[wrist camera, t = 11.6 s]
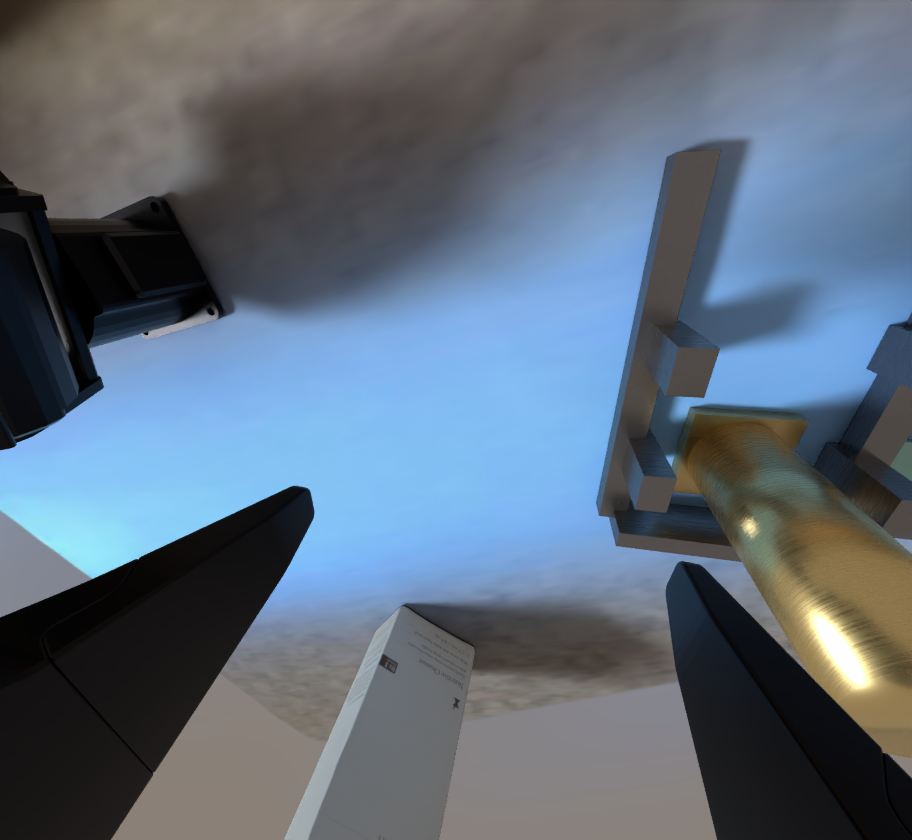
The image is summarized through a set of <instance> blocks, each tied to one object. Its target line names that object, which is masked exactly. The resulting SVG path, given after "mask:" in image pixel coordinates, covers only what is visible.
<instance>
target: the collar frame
mask: <svg viewBox="0 0 912 840" xmlns="http://www.w3.org/2000/svg"><path fill="white" fill-rule="evenodd" d="M720 152H721V150H709V151H690V152H676V153H674V154H672V155H670V156H668V157H667V160H666V165H665V170H664V175H663V179H662V184H661V189H660V194H659V199H658V204H657V209H656V214H655V218H654V223H653V228H652V233H651V238H650V243H649V248H648V253H647V258H646V262H645V267H644V272H643V277H642V282H641V287H640V292H639V297H638V301H637V306H636V311H635V316H634V321H633V326H632V331H631V336H630V340H629V345H628V350H627V355H626V360H625V365H624V370H623V375H622V380H621V384H620V389H619V394H618V399H617V404H616V409H615V414H614V419H613V423H612V428H611V433H610V438H609V443H608V448H607V453H606V458H605V463H604V467H603V472H602V477H601V482H600V487H599V492H598V497H597V502H596V504H597V509H598V513H599V516H606V517H609V519H610V523H611V527H612V531H613V536H614V540H615V544H616V546H621V547H628V548H636V549H644V550H652V551H660V552H668V553H676V554H684V555H691V556H699V557H707V558H715V559H723V560H731V561H739V562H742V561H741V560H740V558H739V556H738V555H737V553H736V551H735V550H734V548H733V546H732V545H731V543H730V541H729V540H728V538H727V536H726V535H725V533H724V531H723V530H722V528H721V526H720V525H719V523H718V521H717V520H716V518H715V516H714V515H713V513H712V511H711V510H710V508H702V507H693V506H683V505H674V504H669V503H670V500H671V497H672V494H673V491H674V488H675V485H676V482H677V477H676V475H675V473H674V472H673V470H672V468H671V466H670V464H669V462H668V461H667V459H666V457H665V455H664V453H663V451H662V449H661V448H660V446H659V444H658V442H657V440H656V438H655V437H654V435H653V433H652V431H651V430H648V429H649V425H650V422H651V418H652V414H653V410H654V406H655V402H656V398H657V395H658V391H659V387H660V388H661V390H662V391H663V393H664V394H665V395H666V396H682V397H700V398H704V396H705V393H706V390H707V387H708V384H709V381H710V378H711V374H712V371H713V368H714V365H715V362H716V359H717V356H718V353H719V350H720V348H718V347H717V346H715V345H714V344H712V343H711V342H710V341H708V340H707V339H705V338H704V337H702V336H701V335H700V334H698V333H697V332H695V331H694V330H692V329H691V328H689V327H688V326H687V325H685V324H684V323H682V322H681V321H677V318H678V314H679V310H680V306H681V302H682V298H683V295H684V291H685V287H686V283H687V279H688V275H689V271H690V268H691V264H692V260H693V256H694V252H695V248H696V244H697V241H698V237H699V233H700V229H701V225H702V221H703V218H704V214H705V210H706V206H707V202H708V198H709V194H710V191H711V187H712V183H713V179H714V175H715V171H716V167H717V164H718V160H719V156H720ZM867 369H868V370H870V371H873V372H875V373H877V374H878V375H877V377H876V378H875V380H874V382H873V384H872V386H871V388H870V389H869V391H868V393H867V395H866V397H865V398H864V400H863V402H862V404H861V406H860V407H859V409H858V411H857V413H856V415H855V416H854V418H853V420H852V422H851V424H850V426H849V427H848V429H847V431H846V433H845V435H844V436H843V438H842V440H841V442H840V443H827V444H826V445H825V447H824V449H823V451H822V453H821V455H820V457H819V459H818V460H817V462H816V464H815V466H814V468H816V469H817V470H818V471H819V472H820V473H821V474H822V475H823V476H825V477H826V478H827V479H828V480H829V481H830V482H831V483H832V484H834V485H835V486H836V487H837V488H838V489H839V490H840V491H841V492H843V493H844V494H845V495H846V496H847V497H848V498H849V499H850V500H852V501H853V502H854V503H855V504H856V505H857V506H858V507H859V508H861V509H862V510H863V511H864V512H865V513H866V514H867V515H868V516H870V517H871V518H872V519H873V520H874V521H875V522H876V523H877V524H879V525H880V526H881V527H882V528H883V529H884V530H885V531H886V532H888V533H889V534H890V535H891V536H892V537H893V538H900V539H910V540H912V440H909V439H908V438H909V436H910V435H911V433H912V313H911V315H910V317H909V319H908V321H907V322H906V324H905V326H899V325H889V327H888V329H887V331H886V333H885V335H884V337H883V339H882V340H881V342H880V344H879V346H878V348H877V350H876V352H875V354H874V355H873V357H872V359H871V361H870V363H869V365H868V367H867ZM630 499H631V500H630Z"/></svg>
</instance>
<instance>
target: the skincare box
mask: <svg viewBox="0 0 912 840" xmlns="http://www.w3.org/2000/svg"><path fill="white" fill-rule="evenodd" d="M474 656H475V651H474V647H472V646H471V645H469V644H468V643H466V642H463V641H461V640H460V639H458V638H456V637H454V636H453V635H451V634H449V633H447V632H446V631H444V630H442V629H440V628H439V627H437V626H435V625H433V624H431V623H430V622H428V621H426V620H425V619H423V618H422V617H420V616H419V615H417V614H416V613H414V612H413V611H411V610H410V609H408V608H407V607H405V606H401V607H400V608H399V609H398V610H397V611H396V612H395V613H394V614H393V615H392V616H390V617H389V618H388V619H387V620H386V621H385V622H384V623H383V624H382V625H381V626H380V627H379V628H378V629H377V631H376V632H375V635H374V637H373V639H372V642H371V644H370V646H369V648H368V651H367V653H366V655H365V657H364V660H363V662H362V664H361V667H360V669H359V671H358V673H357V676H356V678H355V680H354V682H353V685H352V687H351V689H350V692H349V694H348V696H347V698H346V701H345V703H344V705H343V707H342V710H341V712H340V714H339V716H338V719H337V721H336V723H335V726H334V728H333V730H332V732H331V735H330V737H329V739H328V741H327V744H326V746H325V748H324V751H323V753H322V755H321V758H320V760H319V762H318V764H317V767H316V769H315V771H314V774H313V776H312V778H311V780H310V783H309V785H308V787H307V790H306V792H305V794H304V796H303V798H302V801H301V803H300V805H299V808H298V810H297V812H296V814H295V816H294V819H293V821H292V823H291V826H290V828H289V830H288V832H287V834H286V837H285V839H284V840H439V837H440V832H441V827H442V822H443V817H444V812H445V807H446V801H447V797H448V791H449V785H450V780H451V776H452V771H453V765H454V760H455V755H456V749H457V744H458V739H459V734H460V729H461V723H462V718H463V713H464V708H465V703H466V698H467V693H468V687H469V682H470V677H471V672H472V666H473V661H474Z"/></svg>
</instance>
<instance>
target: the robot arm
mask: <svg viewBox="0 0 912 840" xmlns="http://www.w3.org/2000/svg"><path fill="white" fill-rule="evenodd" d="M157 205H158V206H159V210H158V207H157ZM45 210H47V207H46V203H45V200H44V197H43V195H42V194H38V193H34V192H30V191H26V190H22V189H18V188H17V187H16V186H14V184H13V182H12V181H9V180H8V178H7V177H6V176H5V175H4V174H3V173H2V172H1V171H0V450H4V449H9V448H13V447H15V446H16V445H17V444H16V443H17V442H20V441H23V440H25V439H28V438H30V437H32V436H34V435H36V434H38V433H39V432H41V431H43V430H44V429H46V428H47V427H49V426H50V425H52V424H54V423H56V422H58V421H60V420H61V419H62V418H63V417H64V416H65V415H66V414H67V413H68V412H70V411H71V410H73V409H74V408H76V407H77V406H78V405H80V404H81V403H83V402H84V401H86V400H87V399H88V398H90V397H91V396H93V395H94V394H96V393H97V392H98V391H100V390H101V389H103V388H104V386H103V382H102V379H101V377H100V376H98V374H97V371H96V368H95V365H94V362H93V359H92V356H91V353H90V349H89V348H92V347H96V346H99V345H103V344H106V343H110V342H113V341H117V340H121V339H124V338H128V337H131V336H135V335H138V334H141V336H142V337H144V338H146V339H152V338H155V337H158V336H162V335H165V334H169V333H172V332H176V331H179V330H182V329H186V328H189V327H193V326H196V325H200V324H203V323H206V322H210V321H213V320H217V319H220V318H222V317H223V309H222V307H221V305H220V303H219V301H218V299H217V297H216V295H215V293H214V291H213V289H212V287H211V286H210V284H209V282H208V280H207V278H206V276H205V274H204V272H203V270H202V268H201V266H200V264H199V263H198V261H197V259H196V257H195V255H194V253H193V251H192V249H191V247H190V245H189V243H188V241H187V239H186V238H185V236H184V234H183V232H182V230H181V228H180V226H179V224H178V222H177V220H176V218H175V216H174V215H173V213H172V211H171V209H170V207H169V205H168V203H167V202H166V201H165V200H164V199H163V198H161V197H156V196H150V197H147V198H145V199H143V200H141V201H138V202H136V203H134V204H132V205H129V206H127V207H125V208H123V209H121V210H118V211H116V212H114V213H112V214H109V215H107V216H105V217H103V218H101V219H59V218H47V216H46V213H45ZM212 309H213V310H214V312H215V313H214V312H213V311H212ZM313 518H314V507H313V502H312V497H311V492H310V490H309V489H308V488H305V487H300V486H291V487H289V488H287V489H285V490H283V491H281V492H278V493H276V494H274V495H272V496H270V497H268V498H266V499H263V500H261V501H259V502H257V503H255V504H253V505H251V506H248V507H246V508H244V509H242V510H240V511H238V512H236V513H234V514H231V515H229V516H227V517H225V518H223V519H221V520H219V521H216V522H214V523H212V524H210V525H208V526H206V527H204V528H201V529H199V530H197V531H195V532H193V533H191V534H189V535H186V536H184V537H182V538H180V539H178V540H176V541H174V542H171V543H169V544H167V545H165V546H163V547H161V548H159V549H156V550H154V551H152V552H150V553H148V554H146V555H144V556H142V557H140V558H139V559H135V560H133V561H131V562H129V563H126V564H124V565H122V566H120V567H118V568H116V569H114V570H111V571H109V572H107V573H105V574H102V575H100V576H98V577H96V578H94V579H91V580H90V581H87V582H85V583H82V584H80V585H78V586H75V587H73V588H71V589H68V590H66V591H63V592H61V593H59V594H56V595H54V596H52V597H49V598H47V599H44V600H42V601H39V602H37V603H35V604H32V605H30V606H27V607H25V608H22V609H20V610H17V611H15V612H13V613H10V614H8V615H5V616H3V617H1V618H0V840H111V839H112V837H113V836H114V834H115V832H116V831H117V830H118V828H119V826H120V825H121V823H122V822H123V820H124V819H125V817H126V816H127V814H128V813H129V811H130V810H131V808H132V807H133V805H134V803H135V802H136V800H137V799H138V797H139V796H140V794H141V793H142V791H143V790H144V788H145V787H146V785H147V784H148V782H149V781H150V779H151V778H152V776H153V772H155V771H156V769H157V768H158V766H159V765H160V763H161V762H162V760H163V759H164V757H165V756H166V754H167V752H168V751H169V749H170V748H171V746H172V745H173V743H174V742H175V740H176V739H177V737H178V736H179V734H180V733H181V731H182V730H183V728H184V727H185V725H186V724H187V722H188V720H189V719H190V717H191V716H192V714H193V713H194V711H195V710H196V708H197V707H198V705H199V704H200V702H201V701H202V699H203V697H204V696H205V694H206V693H207V691H208V690H209V688H210V687H211V685H212V684H213V682H214V681H215V679H216V678H217V676H218V675H219V673H220V672H221V670H222V668H223V667H224V665H225V664H226V662H227V661H228V659H229V658H230V656H231V655H232V653H233V652H234V650H235V649H236V647H237V646H238V644H239V642H240V641H241V639H242V638H243V636H244V635H245V633H246V632H247V630H248V629H249V627H250V626H251V624H252V623H253V621H254V620H255V618H256V616H257V615H258V613H259V612H260V610H261V609H262V607H263V606H264V604H265V603H266V601H267V600H268V598H269V597H270V595H271V594H272V592H273V590H274V589H275V587H276V586H277V584H278V583H279V581H280V580H281V578H282V577H283V575H284V573H285V572H286V570H287V568H288V566H289V565H290V563H291V561H292V559H293V557H294V555H295V553H296V551H297V549H298V547H299V545H300V544H301V542H302V540H303V538H304V536H305V534H306V532H307V530H308V528H309V526H310V524H311V522H312V520H313ZM666 601H667V608H668V616H669V623H670V631H671V638H672V646H673V654H674V660H675V667H676V671H677V676H678V681H679V685H680V689H681V692H682V697H683V701H684V705H685V709H686V713H687V717H688V722H689V726H690V730H691V734H692V738H693V742H694V746H695V750H696V754H697V758H698V763H699V767H700V770H701V775H702V779H703V783H704V787H705V791H706V796H707V800H708V804H709V808H710V812H711V816H712V820H713V824H714V828H715V833H716V837H717V840H912V778H911V777H910V776H909V775H908V774H907V773H906V772H905V771H904V770H903V769H902V768H901V767H900V766H899V765H898V764H897V763H896V762H895V761H894V760H893V759H892V758H891V757H890V756H889V755H888V754H886V753H883V751H882V748H881V747H880V746H879V745H878V744H877V743H876V742H875V741H874V740H873V739H872V738H871V737H870V736H869V735H868V734H867V733H866V732H865V731H864V730H863V729H862V727H861V726H860V725H859V724H858V723H857V722H856V721H855V720H854V719H853V718H852V717H851V716H850V715H849V714H848V713H847V712H846V711H845V710H844V709H843V708H842V707H841V706H840V705H839V704H838V703H837V702H836V701H835V700H834V699H833V698H832V697H831V696H830V695H829V694H828V693H827V692H826V691H825V690H824V689H823V688H822V687H821V686H820V685H819V684H818V683H817V682H816V681H815V680H814V679H813V678H812V677H811V676H810V675H809V674H808V673H807V672H806V671H805V670H804V669H803V668H802V667H801V666H800V665H799V664H798V663H797V662H796V661H795V660H794V659H793V658H792V657H791V656H790V655H789V654H788V653H787V651H786V650H785V649H784V648H783V647H782V646H781V645H780V644H779V643H778V642H777V641H776V640H775V639H774V638H773V637H772V636H771V635H770V634H769V633H768V632H767V631H766V630H765V629H764V628H763V627H762V626H761V625H760V624H759V623H758V622H757V621H756V620H755V619H754V618H753V617H752V616H751V615H750V614H749V613H748V612H747V611H746V610H745V609H744V608H743V607H742V606H741V605H740V604H739V603H738V602H737V601H736V600H735V599H734V598H733V597H732V596H731V595H730V594H729V593H728V592H727V591H726V590H725V589H724V588H723V587H722V586H721V585H720V584H719V583H718V582H717V581H716V580H715V579H714V578H713V577H712V575H711V574H710V573H709V572H708V571H707V570H706V569H705V568H703V567H702V566H701V565H699V564H694V563H689V562H684V561H680V562H679V563H677V565H676V567H675V569H674V571H673V573H672V575H671V577H670V579H669V581H668V583H667V586H666Z"/></svg>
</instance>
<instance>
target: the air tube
mask: <svg viewBox="0 0 912 840" xmlns="http://www.w3.org/2000/svg"><path fill="white" fill-rule="evenodd" d="M808 422H809V421H808V420H806V419H805V418H804V417H802V416H801V415H799V414H790V413H774V412H758V411H742V410H726V409H710V408H694V407H690V409H689V412H688V416H687V419H686V422H685V425H684V428H683V432H682V435H681V438H680V441H679V444H678V448H677V451H676V454H675V457H674V460H673V463H672V467H671V468H672V470H673V472H674V473H675V475H676V477H677V482H676V485H675V488H674V491H673V492H679V493H689V494H699V495H702V496H703V498H704V500H705V501H706V503H707V505H708V506H709V508H710V510H711V511H712V513H713V515H714V516H715V518H716V520H717V521H718V523H719V525H720V526H721V528H722V530H723V531H724V533H725V535H726V536H727V538H728V540H729V541H730V543H731V545H732V546H733V548H734V550H735V551H736V553H737V555H738V556H739V558H740V560H741V561H742V563H743V565H744V567H745V568H746V570H747V572H748V573H749V575H750V577H751V578H752V580H753V582H754V583H755V585H756V587H757V588H758V590H759V592H760V593H761V595H762V597H763V598H764V600H765V602H766V603H767V605H768V607H769V608H770V610H771V612H772V613H773V615H774V617H775V618H776V620H777V622H778V623H779V625H780V627H781V628H782V630H783V632H784V633H785V635H786V637H787V638H788V640H789V642H790V643H791V645H792V647H793V648H794V650H795V652H796V653H797V655H798V657H799V658H800V660H801V662H802V663H803V665H804V667H805V668H806V670H807V671H808V673H809V675H810V676H811V677H812V678H813V679H814V680H815V681H816V682H817V683H818V684H819V685H820V686H821V687H822V688H823V689H824V690H825V691H826V692H827V693H828V694H829V695H830V696H831V697H832V698H833V699H834V700H835V701H836V702H837V703H838V704H839V705H840V706H841V707H842V708H843V709H844V710H845V711H846V712H847V713H848V714H849V715H850V716H851V717H852V718H853V719H854V720H855V721H856V722H857V723H858V724H859V725H860V726H861V727H862V729H863V730H864V731H865V732H866V733H867V734H868V735H869V736H870V737H871V738H872V739H873V740H874V741H875V742H876V743H877V744H878V745H879V746H880V747H881V748H882V751H883V752H885V753H889V754H893V755H898V756H903V757H909V758H912V554H911V553H910V552H909V551H908V550H907V549H905V548H904V547H903V546H902V545H901V544H900V543H899V542H898V541H897V540H895V539H894V538H893V537H892V536H891V535H890V534H889V533H888V532H886V531H885V530H884V529H883V528H882V527H881V526H880V525H879V524H877V523H876V522H875V521H874V520H873V519H872V518H871V517H870V516H868V515H867V514H866V513H865V512H864V511H863V510H862V509H861V508H859V507H858V506H857V505H856V504H855V503H854V502H853V501H852V500H850V499H849V498H848V497H847V496H846V495H845V494H844V493H843V492H841V491H840V490H839V489H838V488H837V487H836V486H835V485H834V484H832V483H831V482H830V481H829V480H828V479H827V478H826V477H825V476H823V475H822V474H821V473H820V472H819V471H818V470H817V469H816V468H814V467H813V466H812V465H811V464H810V463H809V462H808V461H807V460H805V459H804V458H803V457H802V456H801V455H800V454H799V453H798V452H796V451H795V449H796V447H797V445H798V443H799V441H800V439H801V437H802V435H803V433H804V431H805V428H806V426H807V424H808Z"/></svg>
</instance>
